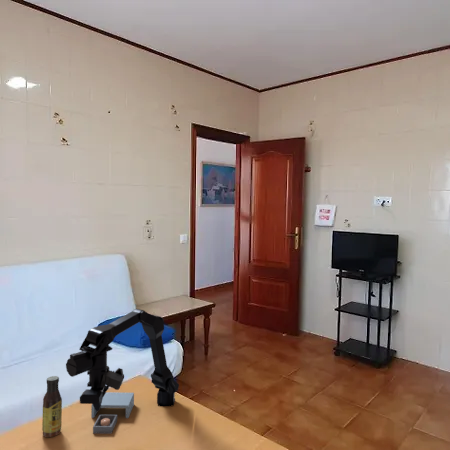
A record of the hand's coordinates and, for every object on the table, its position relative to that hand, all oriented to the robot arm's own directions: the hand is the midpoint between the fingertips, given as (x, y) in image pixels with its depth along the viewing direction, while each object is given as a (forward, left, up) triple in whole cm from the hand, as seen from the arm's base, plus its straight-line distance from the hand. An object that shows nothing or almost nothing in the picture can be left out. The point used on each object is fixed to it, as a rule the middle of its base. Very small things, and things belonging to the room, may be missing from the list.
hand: (97, 410), depth 132 cm
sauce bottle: (+18, -6, -12) cm, 22 cm away
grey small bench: (0, -20, -12) cm, 23 cm away
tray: (0, -9, -12) cm, 15 cm away
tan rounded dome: (0, -9, -11) cm, 14 cm away
